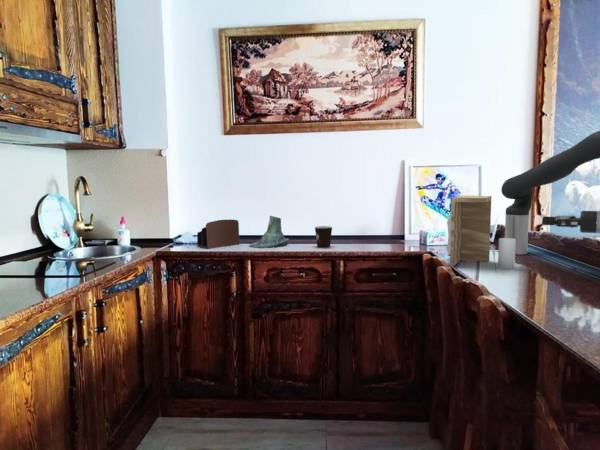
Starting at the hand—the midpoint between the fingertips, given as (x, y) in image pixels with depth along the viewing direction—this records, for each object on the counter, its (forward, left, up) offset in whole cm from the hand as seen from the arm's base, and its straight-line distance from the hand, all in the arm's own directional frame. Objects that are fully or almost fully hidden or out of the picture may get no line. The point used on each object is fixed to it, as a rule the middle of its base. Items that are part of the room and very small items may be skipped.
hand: (542, 220), depth 154 cm
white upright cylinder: (0, -11, -18) cm, 22 cm away
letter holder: (+4, -148, -19) cm, 149 cm away
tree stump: (-8, -124, -19) cm, 126 cm away
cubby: (-2, -24, -18) cm, 30 cm away
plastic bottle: (-18, -33, -18) cm, 42 cm away
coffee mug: (-16, -96, -18) cm, 99 cm away
